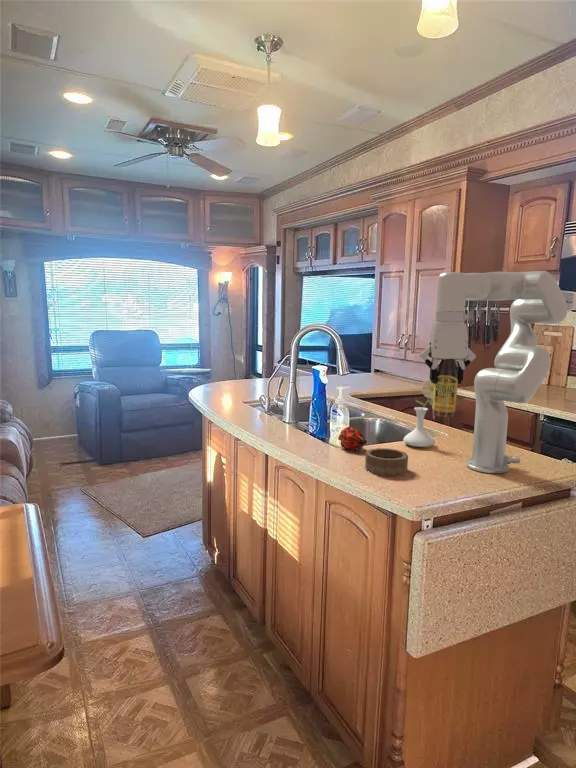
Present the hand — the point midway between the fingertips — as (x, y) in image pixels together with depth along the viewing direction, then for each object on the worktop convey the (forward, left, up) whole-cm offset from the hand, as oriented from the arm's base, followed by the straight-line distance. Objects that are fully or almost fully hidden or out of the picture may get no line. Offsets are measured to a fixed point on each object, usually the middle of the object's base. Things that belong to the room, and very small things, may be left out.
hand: (445, 382), depth 140 cm
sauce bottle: (0, 0, -10) cm, 10 cm away
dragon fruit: (+20, -34, -29) cm, 49 cm away
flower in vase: (-6, -39, -29) cm, 50 cm away
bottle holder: (+13, -11, -29) cm, 34 cm away
